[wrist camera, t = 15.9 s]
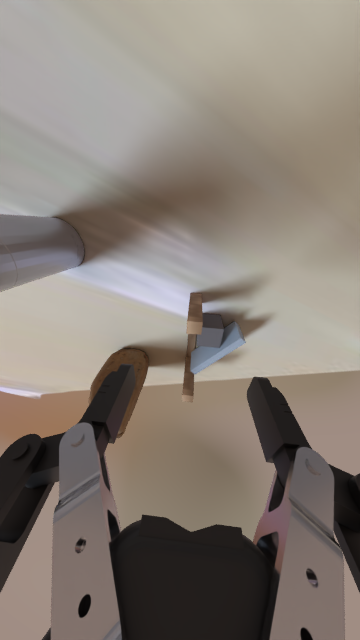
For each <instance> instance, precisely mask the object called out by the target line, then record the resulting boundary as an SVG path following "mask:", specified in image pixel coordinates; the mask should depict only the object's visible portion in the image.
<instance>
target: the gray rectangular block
mask: <svg viewBox="0 0 360 640" xmlns="http://www.w3.org/2000/svg"><path fill="white" fill-rule="evenodd" d="M202 316H203V325H202V332H201V335H198V334H197V346H203V347H214V348H220V345H221V340H222V336H223V331H224V327H223V323H222V319H221V315H215V314H203V313H202Z"/></svg>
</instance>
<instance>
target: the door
mask: <svg viewBox="0 0 360 640" xmlns="http://www.w3.org/2000/svg"><path fill="white" fill-rule="evenodd" d="M244 343H246V342H245V339H244V337H243V334H242V332H241V329H240V327H239V325H238V324H237V323H236V322H235V321H234V322H232V323H231V324H230V325H228V326H227V327H225V328H224V331H223V336H222V340H221V345H220V348H214V347H203V346H199V347H198V348H196V349H195V350H194V351H192V352H191V367H190V371H191V372H192V373H194V374H197V373H198V372H200V371H201V370H203V369H204V368H206V367H208V366H209V365H211V364H212V363H214V362H216V361H217V360H219V359H220V358H222V357H224V356H225V355H227V354H228V353H230V352H232V351H233V350H235V349H236V348H238V347H240V346H241V345H243V344H244Z"/></svg>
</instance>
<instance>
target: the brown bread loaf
mask: <svg viewBox="0 0 360 640" xmlns="http://www.w3.org/2000/svg"><path fill="white" fill-rule="evenodd" d="M148 363H149V359H148V357H147V356H146V354H145V353H144V352H143V351H140V350H137V349H128V350H127V349H121V350H119V351H117V352H115V353H113V354H112V355H111V356H110V357H109V358H108V360H107V361H106V362H105V364H104V365H103V367H102V368H101V370H100V371H99V373H98V374H97V376H96V378H95V379H94V381H93V383H92V385H91V392H90V397H89V405H90V403H91V401H92V400H93V398H94V396H95V394H96V393H97V391H98V389H99V388H100V386H101V384H102V382H103V381H104V379H105V377H106V376H107V375H108V374H110V373H111V372H112V371H117V370H118V369H119V367H120V365H121V364H132V365H134V371H135V378H136V383H135V387H134V390H133V393H132V396H131V399H130V401H129V404H128V407H127V410H126V412H125V415H124V418H123V421H122V423H121V426H120V429H119V432H118V434H117V437H116V438H120V437H121V436H122V435H123V434H124V432H125V429H126V426H127V424H128V421H129V420H130V417H131V415H132V412H133V410H134V408H135V405H136V402H137V400H138V397H139V394H140V392H141V389H142V387H143V384H144V381H145V378H146V375H147V371H148Z"/></svg>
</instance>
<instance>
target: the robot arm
mask: <svg viewBox="0 0 360 640" xmlns="http://www.w3.org/2000/svg"><path fill="white" fill-rule="evenodd" d="M83 258H84V246H83V243H82V240H81V238H80V236H79V235H78V233H77V232H76V230H75V229H74V228H73V227H72V226H71V225H69V224H68V223H67V222H65V221H63V220H61V219H58V218H52V217H37V216H21V215H3V214H0V292H2V291H5V290H8V289H10V288H13V287H16V286H19V285H22V284H25V283H28V282H31V281H34V280H37V279H40V278H43V277H46V276H49V275H52V274H56V273H59V272H62V271H65V270H68V269H71V268H74V267H76V266H78V265H79V264H81V262H82V261H83ZM135 383H136V378H135V371H134V365H132V364H121V365H120V367H119V369H118V370H117V371H112V372H111V373H110V374H108V375H107V376H106V377H105V379H104V381H103V382H102V384H101V386H100V388H99V389H98V391H97V393H96V394H95V396H94V398H93V400H92V401H91V403H90V405H89V407H88V408H87V410H86V412H85V413H84V415H83V417H82V419H81V420H80V421H79V422H78V423H77V424H76V425H75V426H73V427H71V428H70V429H69V430H68V431H67V432H64V433H62V434H57V435H53V436H49V437H45V438H41V437H40V436H38V435H37V434H29V435H26V436H23V437H22V438H20V439H18V440H17V441H15V442H14V443H13V444H11V445H10V446H9V447H8V448H7V450H6V451H5V452H4V453H3V455H2V456H1V457H0V592H1V590H2V588H3V586H4V584H5V582H6V580H7V578H8V576H9V574H10V572H11V570H12V568H13V566H14V564H15V562H16V560H17V558H18V556H19V554H20V552H21V550H22V548H23V546H24V544H25V542H26V540H27V538H28V536H29V533H30V532H31V530H32V528H33V525H34V524H35V522H36V519H37V517H38V515H39V513H40V511H41V509H42V507H43V505H44V503H45V501H46V499H47V497H48V495H49V493H50V491H51V489H52V487H53V485H54V483H55V482H58V481H59V503H58V505H57V506H56V508H55V511H54V517H53V547H52V549H53V550H52V598H51V628H50V629H49V630H48V632H47V634H46V635H45V636H44V637H43V639H42V640H345V618H344V617H345V612H344V611H345V610H344V560H343V554H344V556H345V559H346V561H347V564H348V566H349V568H350V571H351V573H352V575H353V577H354V580H355V583H356V585H357V587H358V590H359V592H360V474H358V475H356V476H353V475H351V474H349V473H347V472H344V471H342V470H340V469H338V468H335V467H334V466H331V465H330V464H328V463H327V462H326V461H325V459H324V458H323V457H322V456H321V455H320V454H318V453H317V452H316V451H314V450H312V448H311V447H310V445H309V443H308V442H307V440H306V438H305V436H304V434H303V432H302V430H301V428H300V426H299V424H298V422H297V421H296V419H295V417H294V415H293V414H292V411H291V409H290V407H289V406H288V403H287V401H286V399H285V398H284V396H283V395H282V393H281V392H280V391H279V390H278V389H277V388H274V387H272V385H271V383H270V381H269V380H268V379H267V378H263V377H254V378H253V379H252V382H251V384H250V386H249V388H248V390H247V400H248V403H249V407H250V410H251V413H252V416H253V420H254V423H255V426H256V429H257V433H258V436H259V439H260V443H261V446H262V449H263V453H264V456H265V459H266V462H270V463H274V464H275V467H276V471H275V473H274V477H273V481H272V485H271V488H270V492H269V496H268V500H267V504H266V507H265V510H264V513H263V515H262V517H261V518H260V520H259V523H258V526H257V529H256V532H255V535H254V539H253V542H252V541H251V540H250V539H248V538H247V537H246V536H244V535H242V530H241V528H239V527H232V526H224V525H217V524H216V525H214V526H210V527H207V528H204V529H200V530H197V531H194V532H190V531H188V530H186V529H184V528H182V527H181V526H179V525H177V524H176V523H174V522H172V521H171V520H169V519H167V518H164V517H156V516H149V515H142V519H141V520H139V521H136V522H134V523H132V524H130V525H129V526H127V527H126V528H125V529H124V530H122V531H121V527H120V522H119V517H118V512H117V508H116V503H115V500H114V496H113V493H112V489H111V483H110V478H109V473H108V468H107V463H106V457H105V450H106V447H107V444H108V443H113V444H114V442H115V440H116V437H117V434H118V432H119V429H120V426H121V423H122V421H123V418H124V415H125V412H126V410H127V407H128V404H129V401H130V399H131V396H132V393H133V390H134V387H135ZM333 530H334V533H335V535H336V537H337V540H338V542H339V544H338V543H337V542H336V541H335V539H334V534H333ZM339 545H340V546H339ZM340 547H341V548H340ZM341 549H342V550H341ZM342 552H343V554H342Z"/></svg>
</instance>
